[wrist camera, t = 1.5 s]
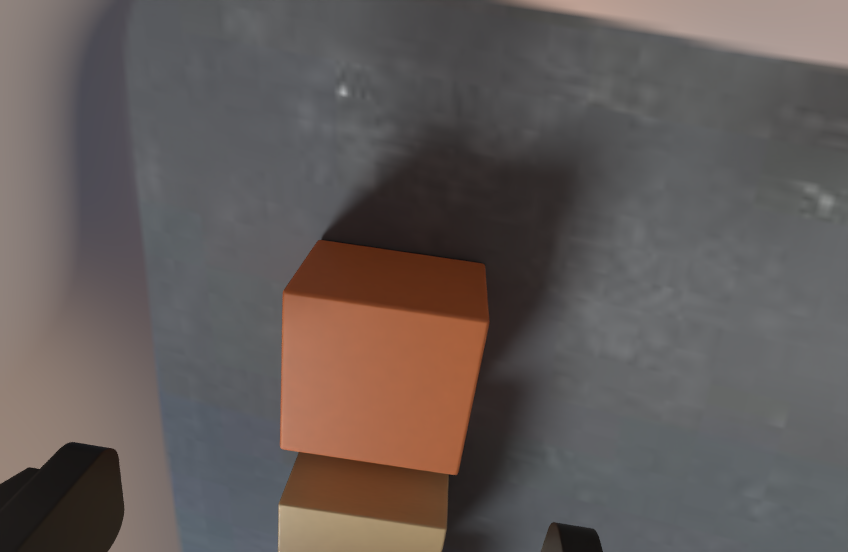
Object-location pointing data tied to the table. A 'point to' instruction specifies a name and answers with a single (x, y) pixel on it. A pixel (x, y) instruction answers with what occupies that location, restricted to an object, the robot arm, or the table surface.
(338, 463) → the word tile
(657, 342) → the table surface
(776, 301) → the table surface
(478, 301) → the orange square block
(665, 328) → the table surface
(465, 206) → the table surface
